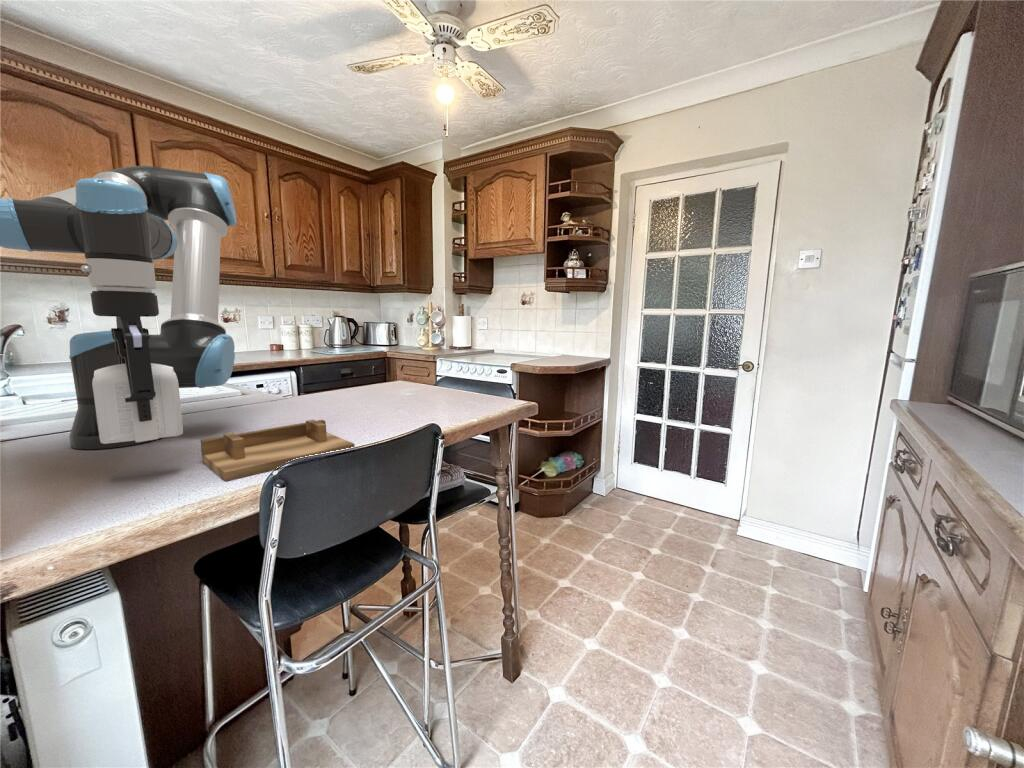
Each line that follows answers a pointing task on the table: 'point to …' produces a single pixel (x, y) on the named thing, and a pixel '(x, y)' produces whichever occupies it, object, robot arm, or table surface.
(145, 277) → the robot arm
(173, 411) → the photo printer
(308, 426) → the ledge shelf
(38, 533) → the table surface
